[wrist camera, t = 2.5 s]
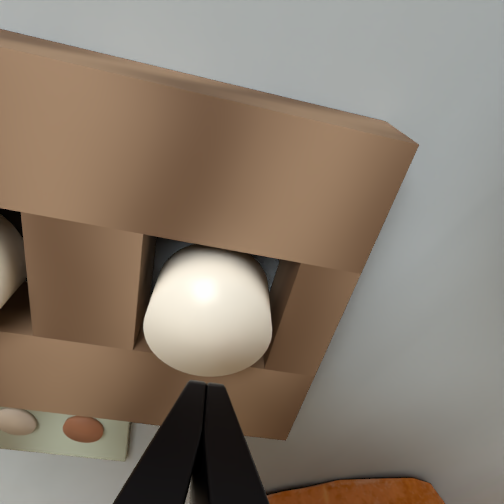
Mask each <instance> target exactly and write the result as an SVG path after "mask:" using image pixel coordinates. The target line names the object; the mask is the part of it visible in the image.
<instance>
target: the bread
mask: <svg viewBox="0 0 504 504" xmlns="http://www.w3.org/2000/svg"><path fill="white" fill-rule="evenodd" d="M267 498H268V500H269V503H270V504H445V503H444V501H443V500H442V499H441V497H440V496H439V495H438V493H437V492H436V490H435V489H434V488H433V486H432V485H431V484H430V483H427V482H424V481H421V480H418V479H414V478H384V479H355V480H336V481H332V482H327V483H323V484H318V485H313V486H309V487H304V488H300V489H294V490H288V491H283V492H279V493H274V494H270V495H267Z"/></svg>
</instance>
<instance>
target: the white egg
mask: <svg viewBox="0 0 504 504" xmlns="http://www.w3.org/2000/svg"><path fill="white" fill-rule="evenodd" d="M143 330H144V336H145V339H146V342H147V344H148V345H149V347H150V349H151V350H152V351H153V353H154V354H155V355H156V356H157V357H158V358H159V359H160V360H162V361H163V362H164V363H166V364H167V365H169V366H170V367H172V368H174V369H176V370H179V371H181V372H184V373H188V374H191V375H197V376H205V377H216V376H224V375H230V374H233V373H237V372H239V371H242V370H244V369H246V368H248V367H250V366H251V365H253V364H254V363H255V362H257V361H258V360H259V359H260V358H261V357H262V356H263V354H264V353H265V352H266V350H267V349H268V347H269V344H270V342H271V338H272V322H271V311H270V300H269V289H268V281H267V277H266V274H265V272H264V270H263V268H262V267H261V265H260V264H259V263H258V262H257V261H256V259H254V258H253V257H252V256H251V255H250V254H248V253H244V252H238V251H233V250H227V249H222V248H216V247H211V246H205V245H200V244H193V245H190V246H187V247H184V248H182V249H180V250H179V251H177V252H176V253H174V254H173V255H172V256H171V257H170V258H168V260H167V261H166V262H165V263H164V265H163V267H162V268H161V271H160V273H159V276H158V279H157V282H156V285H155V288H154V291H153V294H152V297H151V299H150V302H149V305H148V308H147V311H146V314H145V317H144V323H143Z"/></svg>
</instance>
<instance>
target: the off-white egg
mask: <svg viewBox="0 0 504 504" xmlns="http://www.w3.org/2000/svg"><path fill="white" fill-rule="evenodd" d="M26 277H27V271H26V261H25V251H24V241H23V238H22V237H21V235H20V234H19V232H18V231H17V230H16V228H15V227H14V226H13V225H12V224H11V223H10V222H9V221H8V220H7V219H6V218H5V217H4V216H2V215H1V214H0V309H1V307H2V306H3V305H4V304H5V303H6V302H7V300H8V299H9V298H10V297H11V296H12V295H13V293H14V292H15V291H16V290H17V289H18V288H19V286H20V285H21V284H22V283H23V282H24V280H25V279H26Z"/></svg>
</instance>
